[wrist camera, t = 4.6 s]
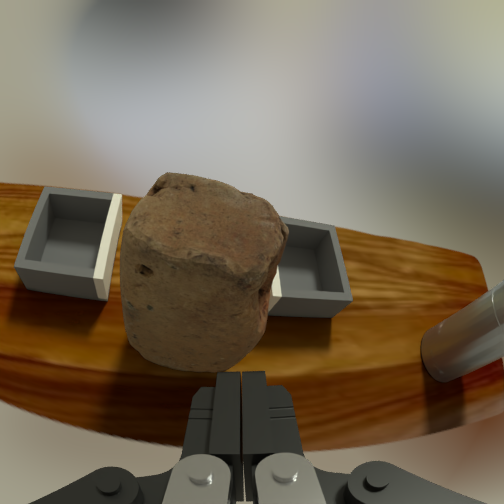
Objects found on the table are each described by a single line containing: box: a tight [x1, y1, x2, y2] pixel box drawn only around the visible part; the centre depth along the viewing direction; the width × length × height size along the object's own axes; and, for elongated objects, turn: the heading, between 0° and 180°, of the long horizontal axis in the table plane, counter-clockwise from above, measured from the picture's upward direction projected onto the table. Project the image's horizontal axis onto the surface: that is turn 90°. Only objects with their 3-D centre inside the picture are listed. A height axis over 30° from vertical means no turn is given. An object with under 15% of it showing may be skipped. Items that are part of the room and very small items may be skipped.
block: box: [120, 172, 289, 373], centre depth 25 cm, size 11×8×20 cm
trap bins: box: [14, 187, 353, 318], centre depth 35 cm, size 37×11×5 cm, turn 93°
